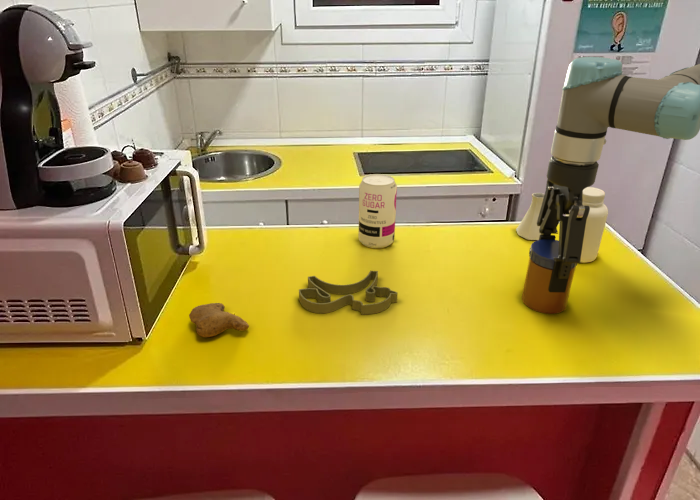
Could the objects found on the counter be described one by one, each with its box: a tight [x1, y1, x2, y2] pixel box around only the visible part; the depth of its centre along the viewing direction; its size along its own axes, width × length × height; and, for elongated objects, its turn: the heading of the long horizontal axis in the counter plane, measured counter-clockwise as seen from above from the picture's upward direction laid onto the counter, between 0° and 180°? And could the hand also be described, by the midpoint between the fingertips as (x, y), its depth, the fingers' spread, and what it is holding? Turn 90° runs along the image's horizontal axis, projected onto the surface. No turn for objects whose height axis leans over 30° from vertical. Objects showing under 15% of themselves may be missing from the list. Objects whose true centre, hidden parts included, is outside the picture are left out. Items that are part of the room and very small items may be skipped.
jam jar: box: [521, 256, 577, 315], centre depth 95 cm, size 8×8×10 cm
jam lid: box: [528, 239, 578, 269], centre depth 93 cm, size 8×8×2 cm
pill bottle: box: [565, 186, 609, 264], centre depth 111 cm, size 8×8×15 cm
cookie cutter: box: [298, 270, 398, 316], centre depth 98 cm, size 18×12×2 cm, turn 100°
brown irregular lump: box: [188, 302, 250, 338], centre depth 90 cm, size 10×10×4 cm
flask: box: [515, 192, 545, 241], centre depth 121 cm, size 7×7×10 cm
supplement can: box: [357, 173, 398, 249], centre depth 116 cm, size 8×8×15 cm
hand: (548, 278), depth 95 cm, fingers closed on jam lid, 8 cm apart
